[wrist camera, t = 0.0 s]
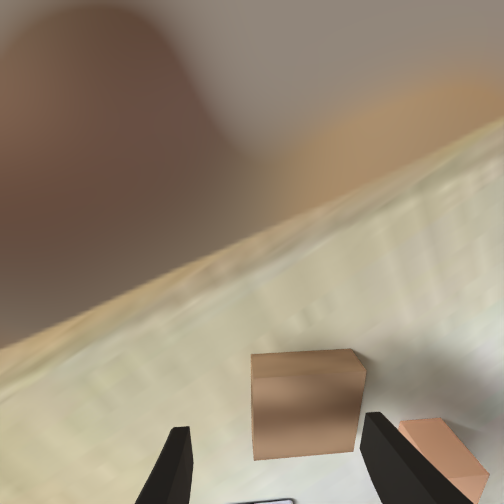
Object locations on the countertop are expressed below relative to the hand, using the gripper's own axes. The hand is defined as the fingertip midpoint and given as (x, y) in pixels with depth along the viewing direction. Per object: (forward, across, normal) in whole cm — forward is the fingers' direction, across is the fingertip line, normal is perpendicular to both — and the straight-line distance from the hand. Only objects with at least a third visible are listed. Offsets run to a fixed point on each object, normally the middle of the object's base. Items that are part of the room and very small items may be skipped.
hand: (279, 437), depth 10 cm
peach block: (+10, -17, +16) cm, 25 cm away
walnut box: (+11, -4, +9) cm, 14 cm away
